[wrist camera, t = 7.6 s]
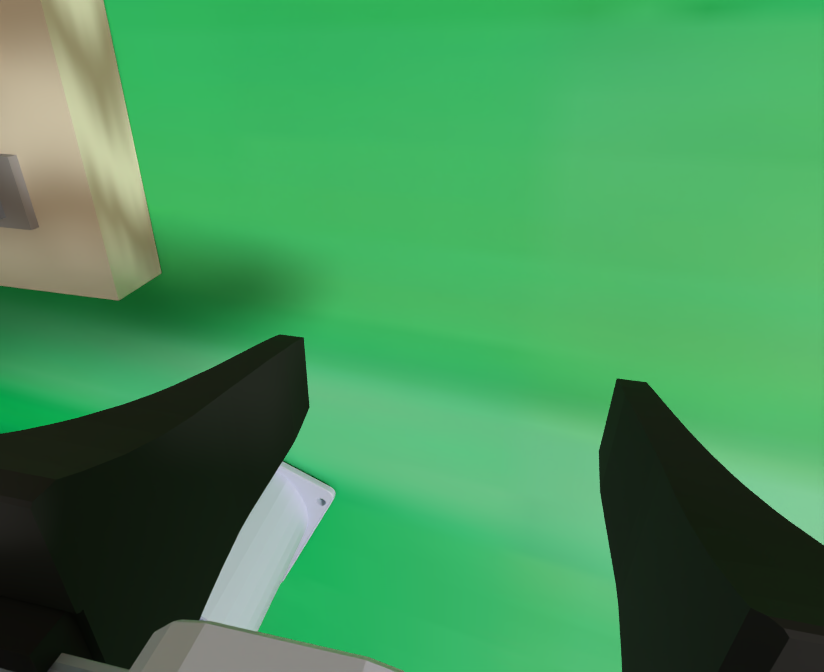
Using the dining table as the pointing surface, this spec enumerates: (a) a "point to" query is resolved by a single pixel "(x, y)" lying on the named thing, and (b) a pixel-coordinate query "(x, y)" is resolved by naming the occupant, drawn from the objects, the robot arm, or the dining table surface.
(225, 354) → the dining table surface
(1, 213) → the grey long bar
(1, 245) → the display stand
